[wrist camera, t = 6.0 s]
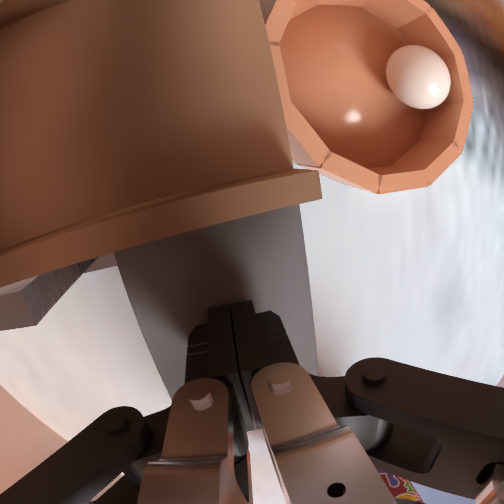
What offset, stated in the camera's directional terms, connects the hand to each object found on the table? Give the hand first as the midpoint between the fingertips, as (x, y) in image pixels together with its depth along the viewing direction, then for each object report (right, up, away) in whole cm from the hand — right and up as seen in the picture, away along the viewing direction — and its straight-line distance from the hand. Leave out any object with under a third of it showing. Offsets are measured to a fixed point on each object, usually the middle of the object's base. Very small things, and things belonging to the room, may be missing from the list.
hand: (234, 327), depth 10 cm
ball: (+9, +11, +2) cm, 15 cm away
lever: (-8, +3, 0) cm, 9 cm away
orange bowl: (+6, +11, +4) cm, 14 cm away
